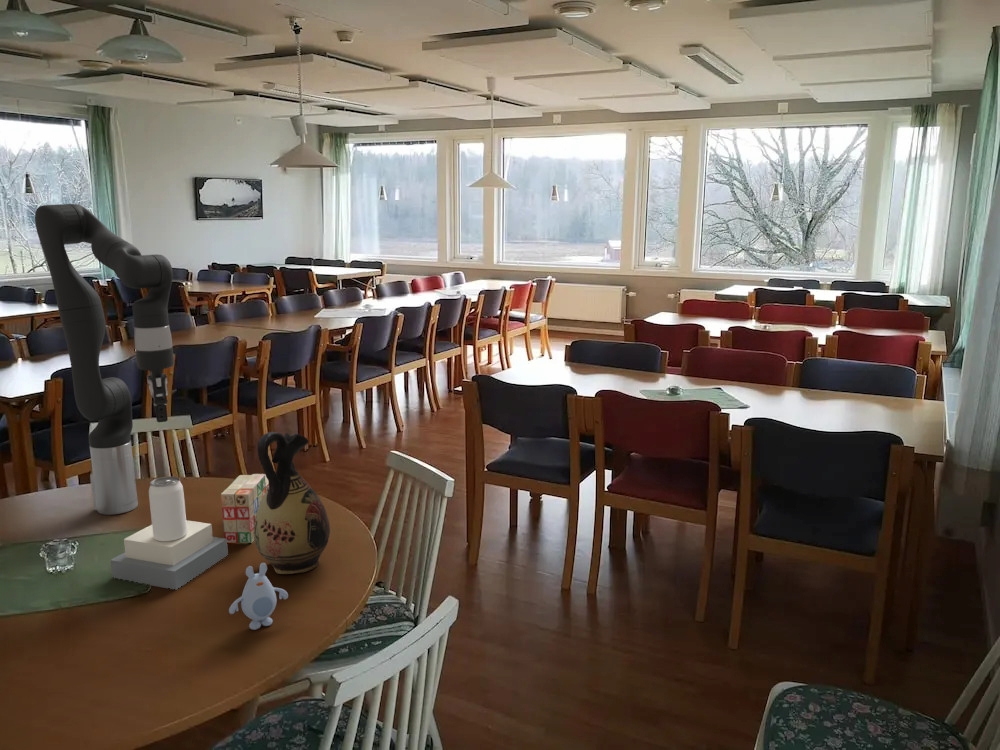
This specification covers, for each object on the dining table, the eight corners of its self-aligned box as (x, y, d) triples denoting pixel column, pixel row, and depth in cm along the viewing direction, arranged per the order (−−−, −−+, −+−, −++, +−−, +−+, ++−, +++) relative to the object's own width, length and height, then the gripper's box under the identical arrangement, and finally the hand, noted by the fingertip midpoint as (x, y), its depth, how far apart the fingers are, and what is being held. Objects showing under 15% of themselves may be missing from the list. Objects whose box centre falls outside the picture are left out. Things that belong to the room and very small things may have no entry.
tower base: (112, 578, 158) (108, 541, 156) (168, 545, 172) (165, 512, 171) (176, 590, 153) (172, 552, 151) (228, 555, 167) (225, 521, 166)
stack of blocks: (255, 508, 194) (252, 461, 192) (280, 508, 194) (277, 462, 191) (224, 544, 173) (220, 493, 171) (252, 544, 173) (248, 493, 171)
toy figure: (235, 642, 134) (230, 579, 132) (226, 626, 139) (221, 565, 137) (295, 624, 140) (291, 563, 137) (284, 609, 145) (280, 551, 142)
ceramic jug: (294, 543, 173) (285, 415, 167) (346, 558, 166) (339, 425, 159) (234, 574, 159) (222, 435, 153) (288, 592, 152) (279, 447, 145)
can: (193, 535, 159) (188, 480, 156) (162, 545, 154) (156, 489, 151) (178, 527, 163) (172, 473, 160) (147, 536, 158) (141, 481, 156)
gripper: (174, 350, 165) (181, 422, 169) (169, 340, 177) (176, 407, 181) (136, 353, 162) (144, 427, 165) (134, 342, 174) (141, 411, 178)
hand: (161, 417), depth 173 cm, fingers open, 8 cm apart
